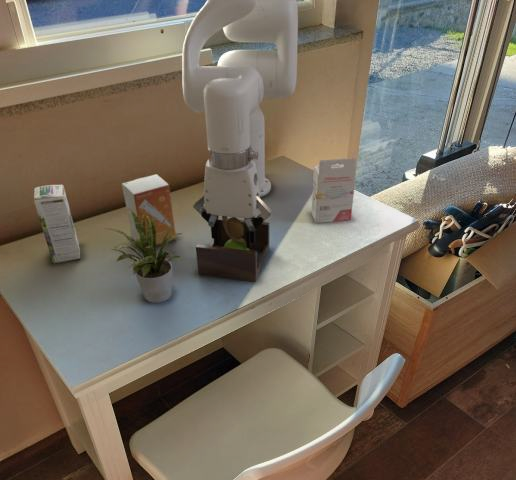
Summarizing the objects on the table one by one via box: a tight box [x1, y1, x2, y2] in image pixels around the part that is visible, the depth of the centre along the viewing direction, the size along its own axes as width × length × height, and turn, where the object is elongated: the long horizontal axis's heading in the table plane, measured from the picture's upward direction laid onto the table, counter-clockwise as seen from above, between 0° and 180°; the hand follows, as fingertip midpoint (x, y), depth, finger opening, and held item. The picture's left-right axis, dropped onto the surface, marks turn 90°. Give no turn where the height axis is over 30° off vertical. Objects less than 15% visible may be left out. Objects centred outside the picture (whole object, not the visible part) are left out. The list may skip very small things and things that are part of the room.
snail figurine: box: [221, 216, 250, 251], centre depth 103 cm, size 5×6×12 cm
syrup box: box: [33, 184, 81, 264], centre depth 105 cm, size 6×6×14 cm
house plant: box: [102, 209, 184, 304], centre depth 94 cm, size 14×14×16 cm
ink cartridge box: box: [311, 157, 357, 224], centre depth 116 cm, size 9×5×15 cm, turn 97°
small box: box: [121, 173, 177, 246], centre depth 110 cm, size 8×6×13 cm
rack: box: [195, 216, 270, 283], centre depth 105 cm, size 12×12×6 cm
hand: (234, 242), depth 104 cm, fingers open, 6 cm apart
